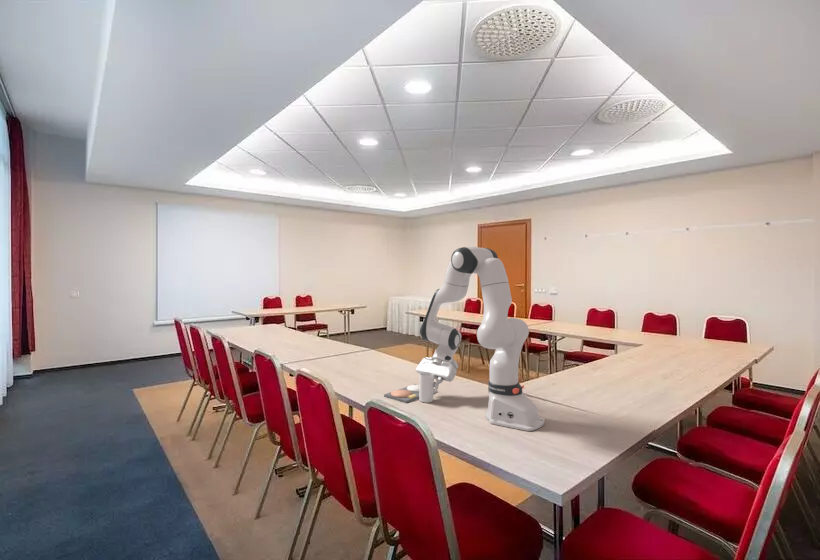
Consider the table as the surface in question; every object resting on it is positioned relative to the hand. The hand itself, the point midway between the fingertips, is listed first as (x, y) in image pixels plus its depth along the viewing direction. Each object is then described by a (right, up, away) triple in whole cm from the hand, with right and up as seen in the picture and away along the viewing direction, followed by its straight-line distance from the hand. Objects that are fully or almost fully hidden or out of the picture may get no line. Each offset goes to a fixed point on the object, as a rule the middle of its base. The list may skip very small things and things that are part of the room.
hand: (428, 385), depth 178 cm
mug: (+1, -7, +1) cm, 7 cm away
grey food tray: (-8, -7, +9) cm, 14 cm away
